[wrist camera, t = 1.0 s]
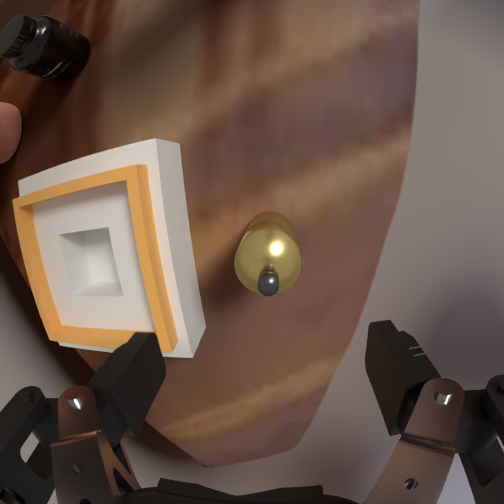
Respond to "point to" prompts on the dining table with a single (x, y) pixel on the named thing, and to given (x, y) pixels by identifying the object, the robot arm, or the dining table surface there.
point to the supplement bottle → (44, 47)
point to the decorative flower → (9, 130)
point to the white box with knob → (112, 249)
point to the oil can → (268, 255)
